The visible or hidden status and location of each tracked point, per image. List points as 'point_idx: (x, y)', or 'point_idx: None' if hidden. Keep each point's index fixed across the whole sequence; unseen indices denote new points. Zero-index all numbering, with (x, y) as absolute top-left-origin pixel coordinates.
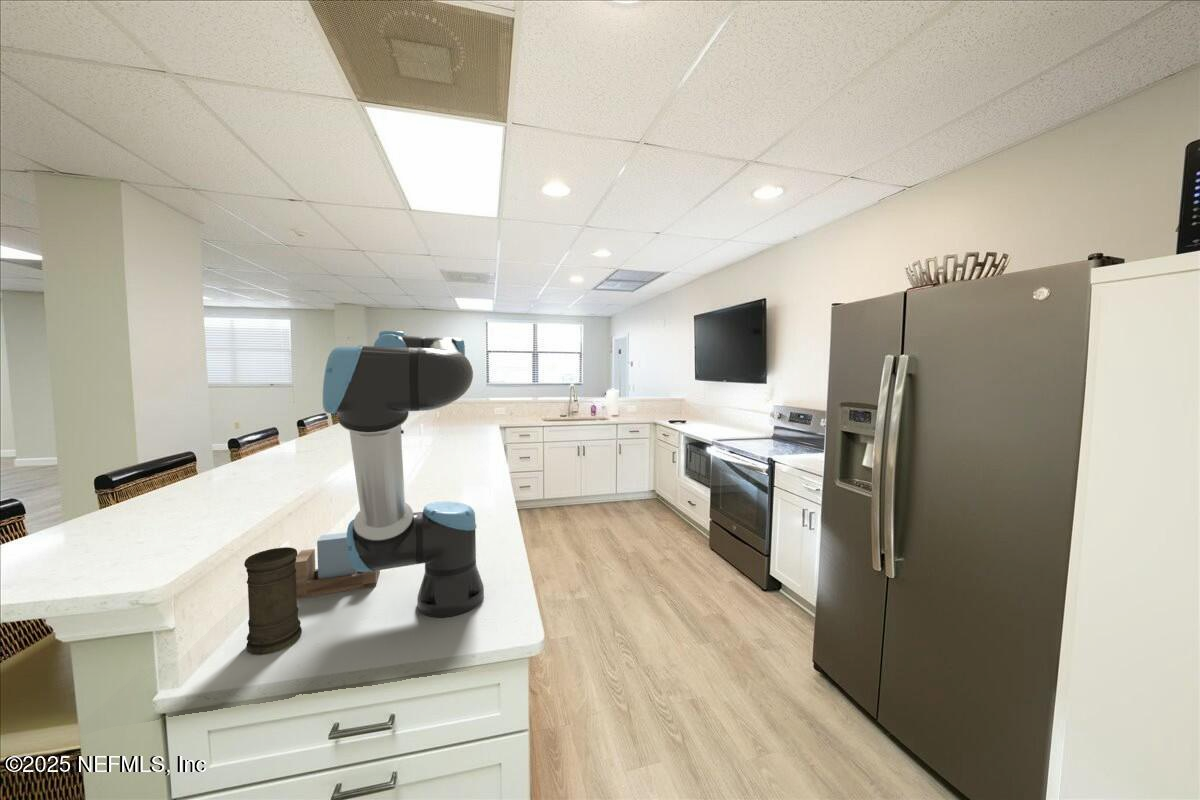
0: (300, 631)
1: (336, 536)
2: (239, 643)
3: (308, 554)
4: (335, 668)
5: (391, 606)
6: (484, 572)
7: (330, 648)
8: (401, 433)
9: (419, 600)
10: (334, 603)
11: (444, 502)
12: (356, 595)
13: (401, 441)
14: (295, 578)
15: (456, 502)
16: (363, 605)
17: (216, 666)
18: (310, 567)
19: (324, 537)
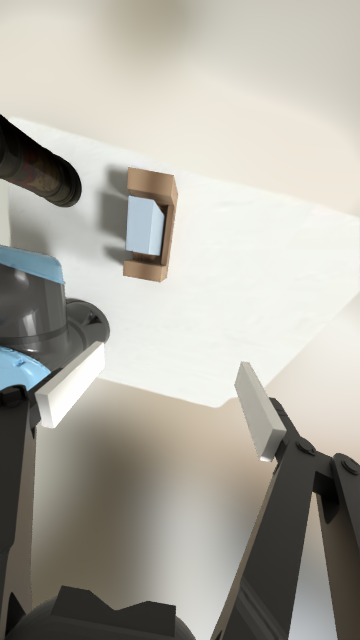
0: (60, 206)
1: (137, 224)
2: (68, 149)
3: (150, 189)
4: (14, 238)
5: (90, 282)
6: (123, 359)
7: (40, 234)
8: (276, 466)
9: (68, 304)
10: (115, 233)
11: (21, 376)
12: (124, 253)
13: (249, 427)
14: (11, 181)
15: (27, 389)
16: (101, 259)
17: (36, 137)
18: (150, 198)
19: (140, 206)
